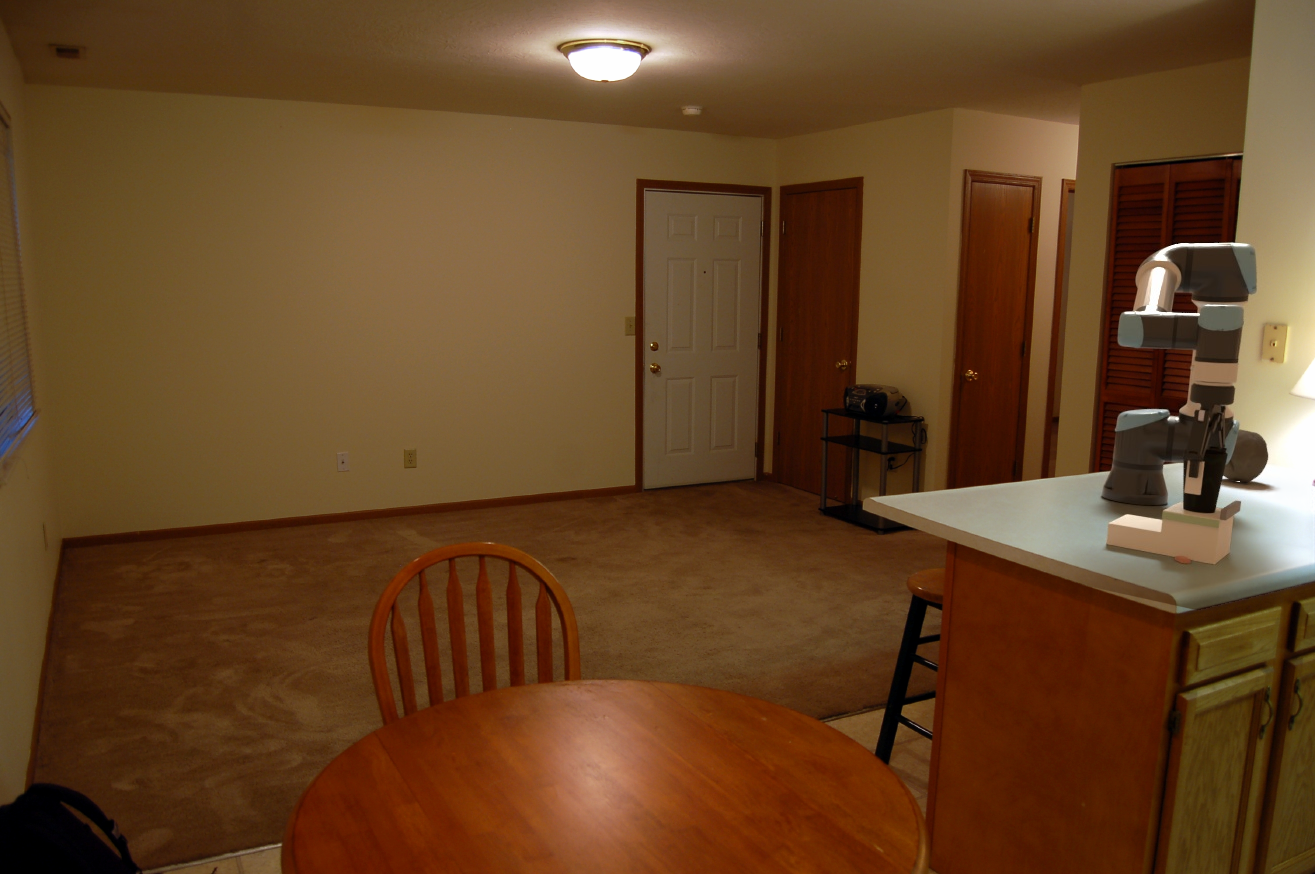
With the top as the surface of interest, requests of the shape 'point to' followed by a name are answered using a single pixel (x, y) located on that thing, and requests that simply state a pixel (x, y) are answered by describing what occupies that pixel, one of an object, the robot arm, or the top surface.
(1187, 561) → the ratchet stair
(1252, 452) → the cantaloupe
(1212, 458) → the cup
